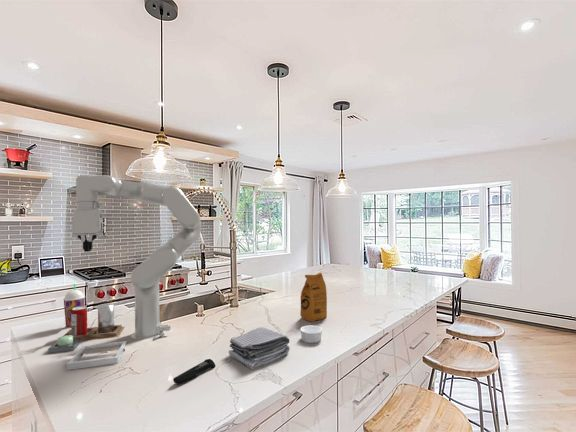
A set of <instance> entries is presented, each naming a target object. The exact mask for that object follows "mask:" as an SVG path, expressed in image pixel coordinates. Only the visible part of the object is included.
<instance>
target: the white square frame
mask: <svg viewBox="0 0 576 432" xmlns="http://www.w3.org/2000/svg"><path fill="white" fill-rule="evenodd" d="M126 345H127V340H125V341H124V340H123V341H116V342H115V341H114V342H108V343H98V344H97V343H95V344H89V345H82V346H81V347H80V348H79V350H78V351H77V352H76V353H75V354H74V356H73V357H72V358H71V359H70V360H69V362H68V363H67V370H74V369H75V370H76V369H82V368H84V369H85V368H91V367H98V366H99V367H100V366H105V365H113V364H118V363H119V362H120V359H121V358H122V356H123V354H124V352H125V350H126V349H125V346H126ZM112 346H120V347H119V349H118V351H117V352H116V354H115V356H109V357H100V358H93V359H86V360H80V359H81V358H82V356H83V355H84V353H83V352H84V351H85V350H87V349H96V348H97V349H98V348H103V347H105V348H106V347H112Z"/></svg>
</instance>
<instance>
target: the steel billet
mask: <svg viewBox="0 0 576 432" xmlns="http://www.w3.org/2000/svg"><path fill="white" fill-rule="evenodd" d="M114 325H115V304H114V303H112V302H109V303H108V302H107V303H101V304H98V305H97V327H98V333H108V332H114Z"/></svg>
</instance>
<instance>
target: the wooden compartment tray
mask: <svg viewBox="0 0 576 432" xmlns="http://www.w3.org/2000/svg"><path fill="white" fill-rule="evenodd" d="M124 329H125V326H123V325H122V324H114V332H108V333H98V326H93V327H87V334H86V335H79V336H73V339H75V338H81V342H86V341H95V340H105V339H113V338H119V337H120V335H121V333H122V332H123V330H124ZM67 335H71V329H69V330H68V331H67V332H66V333H64V335H63V336H67Z"/></svg>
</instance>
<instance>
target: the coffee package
mask: <svg viewBox="0 0 576 432" xmlns="http://www.w3.org/2000/svg"><path fill="white" fill-rule="evenodd" d="M304 278H305V279H306V280H305V283H304V285H303V287H302V289H301V293H300V312H299V313H300V317H301V319H303V320H305V321H307V322H310V323H312V322H316V321H319V320H320V321H321V320H324V319H326V318H327V315H328V311H327V307H328V306H327V305H328V296H327V295H328V294H327V293H328V292H327V286H326V281H325V280H324V276H323V273H322V272H318V273H316V274H305V275H304Z"/></svg>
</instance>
